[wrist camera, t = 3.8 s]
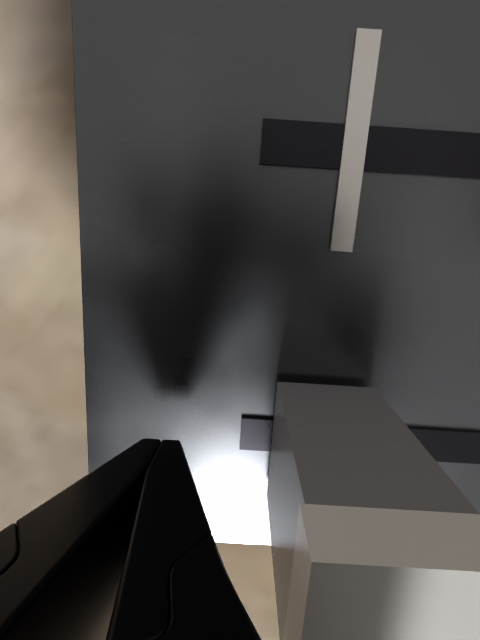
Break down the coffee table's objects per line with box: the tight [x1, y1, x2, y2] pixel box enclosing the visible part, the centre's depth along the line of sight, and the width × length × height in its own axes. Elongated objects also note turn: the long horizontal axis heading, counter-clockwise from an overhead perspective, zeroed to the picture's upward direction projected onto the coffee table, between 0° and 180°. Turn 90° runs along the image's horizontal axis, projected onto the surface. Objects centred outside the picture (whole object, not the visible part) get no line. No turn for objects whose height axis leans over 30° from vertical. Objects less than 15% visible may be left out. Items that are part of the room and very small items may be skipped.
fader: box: [267, 382, 480, 640], centre depth 7 cm, size 3×3×5 cm
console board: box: [71, 0, 480, 545], centre depth 10 cm, size 18×14×1 cm
